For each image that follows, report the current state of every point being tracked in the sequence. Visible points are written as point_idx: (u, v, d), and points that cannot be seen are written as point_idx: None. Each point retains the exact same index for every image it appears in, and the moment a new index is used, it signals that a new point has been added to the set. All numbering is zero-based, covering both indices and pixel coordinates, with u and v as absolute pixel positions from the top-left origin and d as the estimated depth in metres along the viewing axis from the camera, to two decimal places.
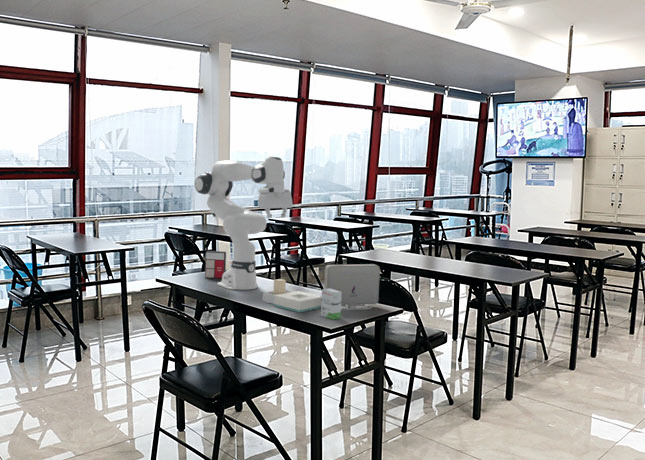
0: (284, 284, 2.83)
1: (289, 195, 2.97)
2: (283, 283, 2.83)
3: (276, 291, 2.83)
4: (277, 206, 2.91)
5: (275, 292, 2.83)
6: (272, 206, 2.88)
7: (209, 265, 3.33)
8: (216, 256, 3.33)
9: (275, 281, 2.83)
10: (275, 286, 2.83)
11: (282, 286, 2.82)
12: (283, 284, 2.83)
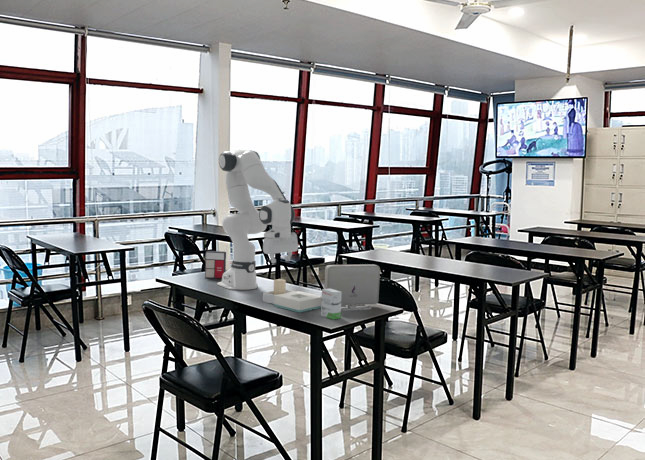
0: (284, 284, 2.83)
1: (295, 238, 2.86)
2: (283, 283, 2.83)
3: (276, 291, 2.83)
4: (282, 251, 2.80)
5: (275, 292, 2.83)
6: (277, 251, 2.78)
7: (209, 265, 3.33)
8: (216, 256, 3.33)
9: (275, 281, 2.83)
10: (275, 286, 2.83)
11: (282, 286, 2.82)
12: (283, 284, 2.83)
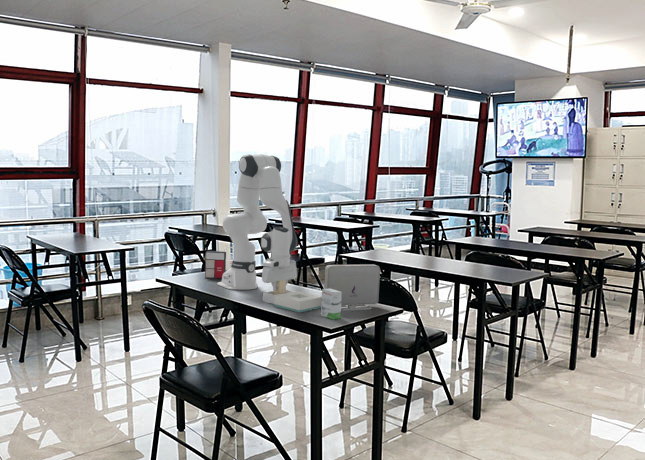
0: (284, 284, 2.83)
1: (294, 266, 2.87)
2: (283, 283, 2.83)
3: (276, 291, 2.83)
4: (281, 279, 2.82)
5: (275, 292, 2.83)
6: (276, 280, 2.79)
7: (209, 265, 3.33)
8: (216, 256, 3.33)
9: None
10: None
11: (282, 286, 2.82)
12: (283, 284, 2.83)
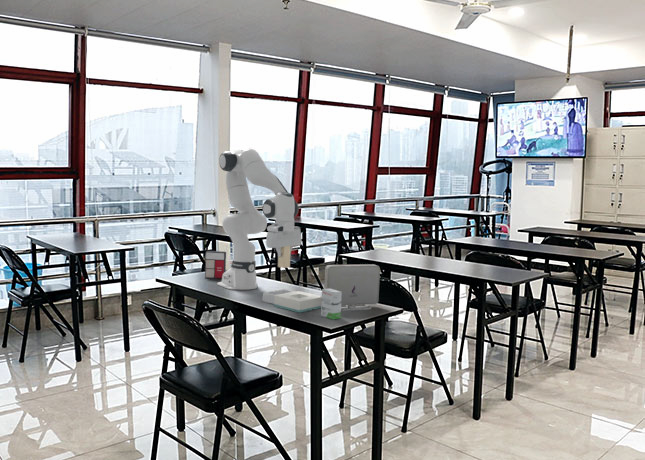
0: (289, 250, 2.79)
1: (298, 232, 2.84)
2: (287, 248, 2.79)
3: (280, 257, 2.79)
4: (285, 245, 2.78)
5: (280, 258, 2.79)
6: (280, 245, 2.75)
7: (209, 265, 3.33)
8: (216, 256, 3.33)
9: None
10: None
11: (287, 252, 2.79)
12: (288, 250, 2.79)
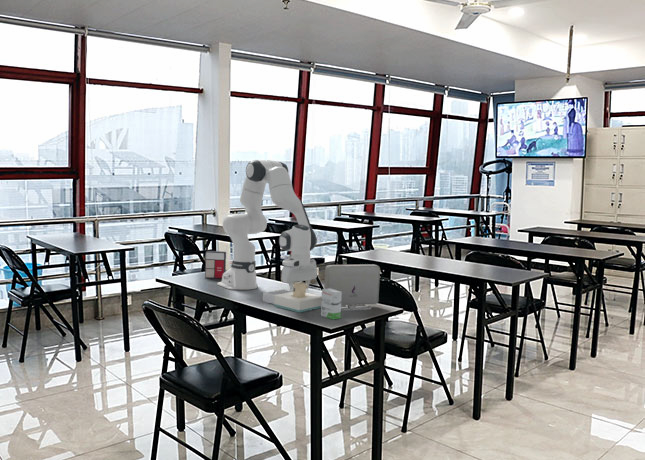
0: (304, 287, 2.72)
1: (314, 266, 2.76)
2: (303, 286, 2.71)
3: (295, 295, 2.71)
4: (301, 279, 2.70)
5: (295, 296, 2.72)
6: (296, 280, 2.68)
7: (209, 265, 3.33)
8: (216, 256, 3.33)
9: (295, 284, 2.71)
10: (295, 289, 2.71)
11: (302, 290, 2.71)
12: (303, 287, 2.71)
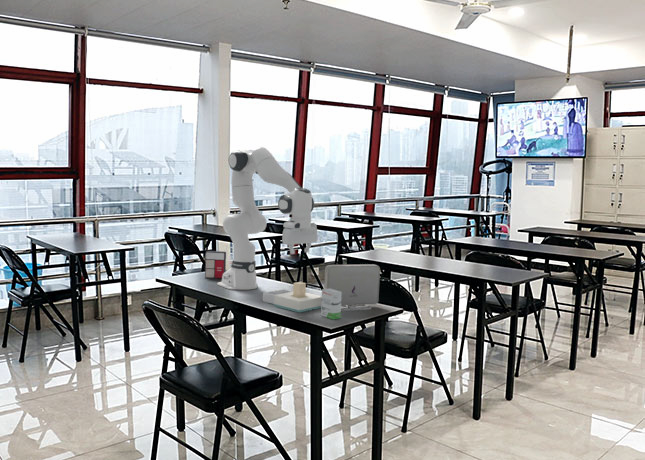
0: (304, 287, 2.72)
1: (315, 229, 2.79)
2: (303, 286, 2.71)
3: (295, 295, 2.71)
4: (301, 242, 2.73)
5: (295, 296, 2.72)
6: (296, 242, 2.71)
7: (209, 265, 3.33)
8: (216, 256, 3.33)
9: (295, 284, 2.71)
10: (295, 289, 2.71)
11: (302, 290, 2.71)
12: (303, 287, 2.71)
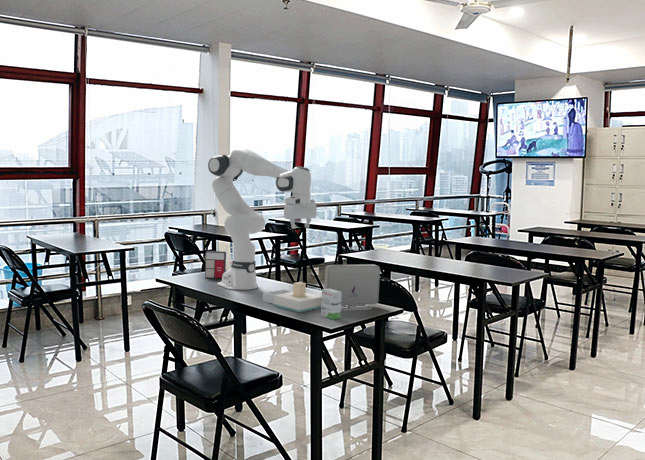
0: (304, 287, 2.72)
1: (314, 206, 2.97)
2: (303, 286, 2.71)
3: (295, 295, 2.71)
4: (302, 217, 2.91)
5: (295, 296, 2.72)
6: (297, 217, 2.89)
7: (209, 265, 3.33)
8: (216, 256, 3.33)
9: (295, 284, 2.71)
10: (295, 289, 2.71)
11: (302, 290, 2.71)
12: (303, 287, 2.71)
